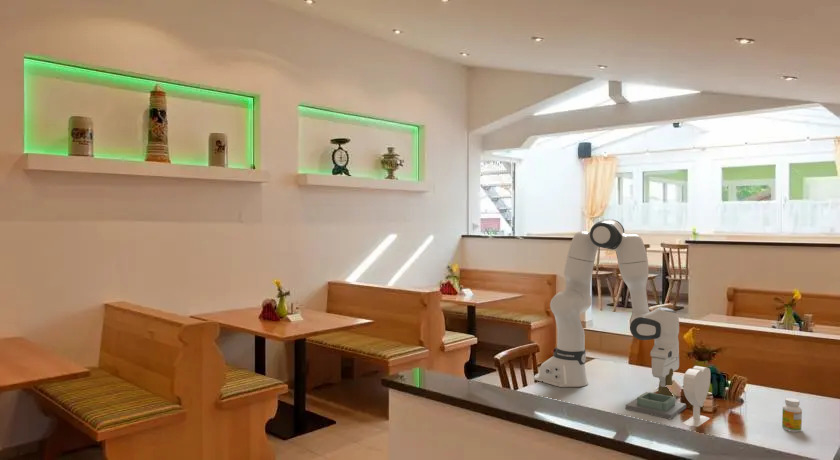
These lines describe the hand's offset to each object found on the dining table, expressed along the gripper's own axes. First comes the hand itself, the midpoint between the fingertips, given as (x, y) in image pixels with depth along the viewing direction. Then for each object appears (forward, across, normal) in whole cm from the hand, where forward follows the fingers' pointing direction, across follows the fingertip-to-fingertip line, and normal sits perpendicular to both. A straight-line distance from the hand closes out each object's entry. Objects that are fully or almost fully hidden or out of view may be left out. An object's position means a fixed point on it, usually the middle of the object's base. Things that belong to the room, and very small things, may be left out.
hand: (665, 384), depth 233 cm
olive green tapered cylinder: (+4, 0, 0) cm, 4 cm away
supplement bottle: (+4, +10, +44) cm, 45 cm away
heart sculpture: (+4, +23, +18) cm, 29 cm away
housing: (+4, +19, +3) cm, 20 cm away
